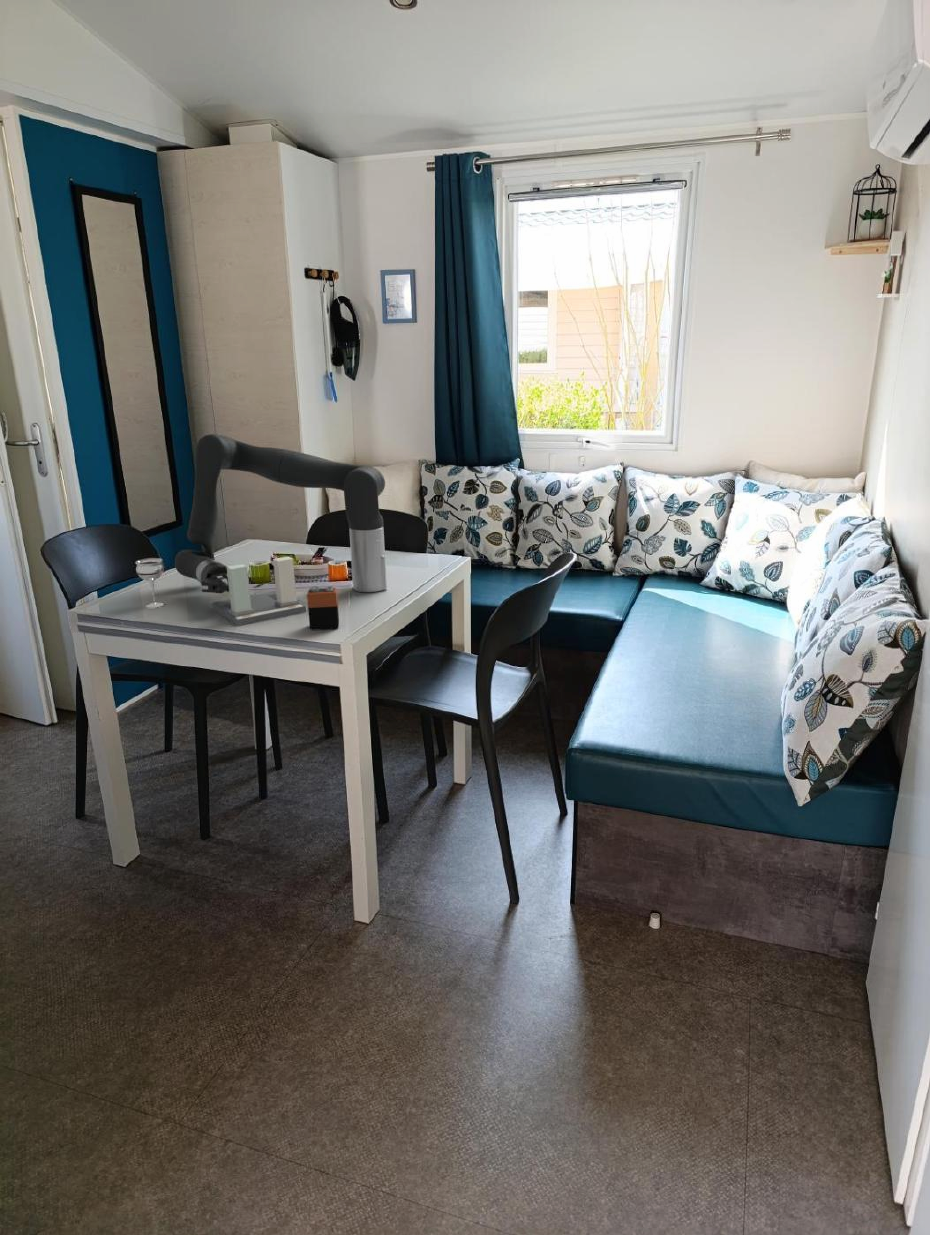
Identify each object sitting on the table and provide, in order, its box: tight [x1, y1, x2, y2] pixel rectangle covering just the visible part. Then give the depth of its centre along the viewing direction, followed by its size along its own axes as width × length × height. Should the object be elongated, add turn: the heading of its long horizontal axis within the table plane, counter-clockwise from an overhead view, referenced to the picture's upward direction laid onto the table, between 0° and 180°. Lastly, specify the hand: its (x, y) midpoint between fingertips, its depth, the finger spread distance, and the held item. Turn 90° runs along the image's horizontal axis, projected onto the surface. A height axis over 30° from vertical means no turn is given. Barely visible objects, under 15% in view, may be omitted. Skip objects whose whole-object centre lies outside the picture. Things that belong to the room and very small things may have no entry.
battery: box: [306, 585, 340, 630], centre depth 195 cm, size 4×7×10 cm, turn 97°
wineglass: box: [135, 557, 165, 608], centre depth 214 cm, size 7×7×12 cm
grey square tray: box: [211, 590, 307, 627], centre depth 210 cm, size 18×18×2 cm
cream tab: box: [272, 556, 300, 607], centre depth 207 cm, size 4×5×12 cm
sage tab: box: [227, 563, 254, 617], centre depth 201 cm, size 4×5×12 cm
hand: (237, 590), depth 202 cm, fingers closed
